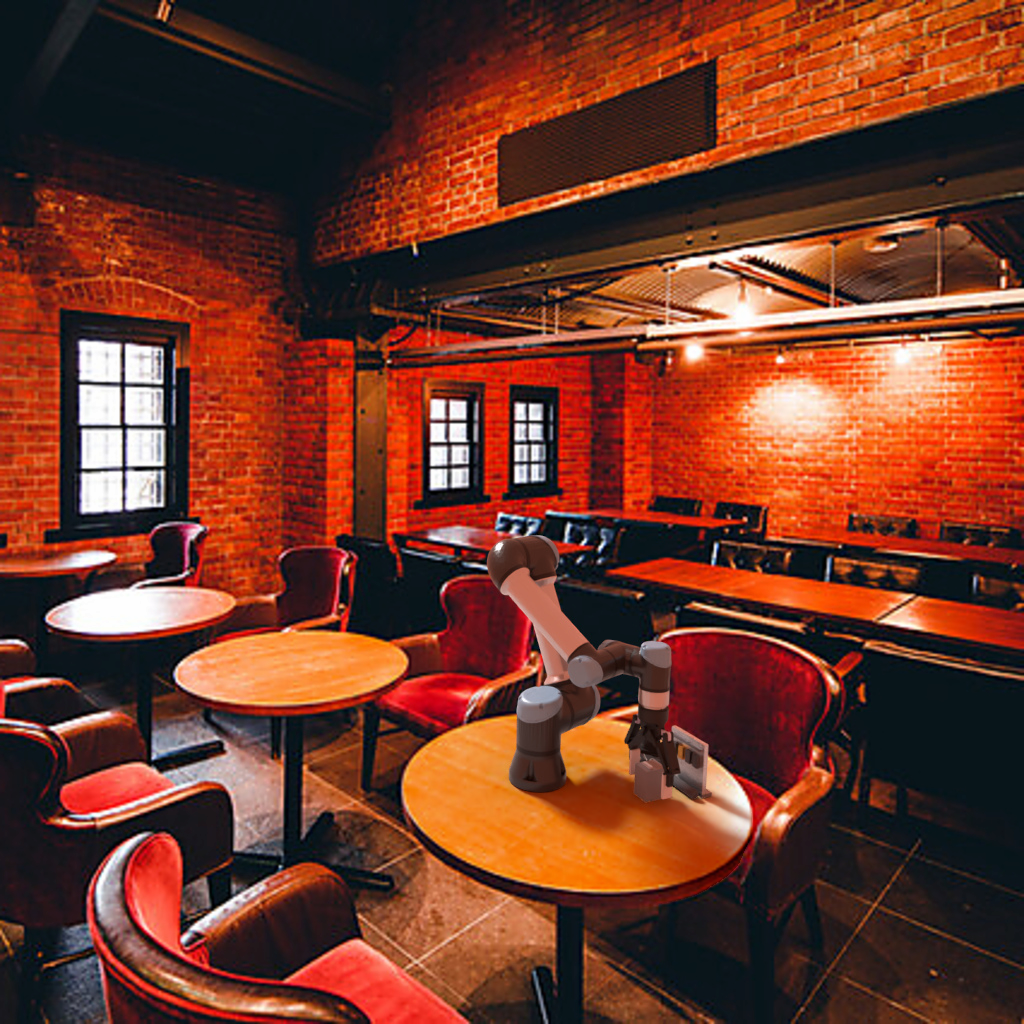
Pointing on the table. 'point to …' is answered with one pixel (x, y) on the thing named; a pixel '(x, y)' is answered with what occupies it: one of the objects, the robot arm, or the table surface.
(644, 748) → the film camera
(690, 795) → the gray cylinder
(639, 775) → the grey tall block
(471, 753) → the table surface
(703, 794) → the breaker panel
